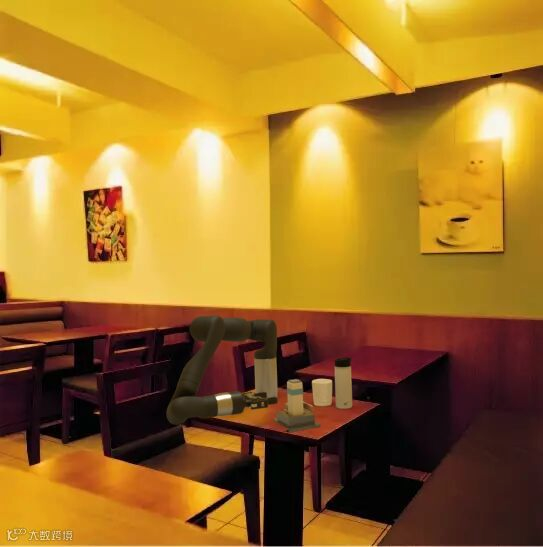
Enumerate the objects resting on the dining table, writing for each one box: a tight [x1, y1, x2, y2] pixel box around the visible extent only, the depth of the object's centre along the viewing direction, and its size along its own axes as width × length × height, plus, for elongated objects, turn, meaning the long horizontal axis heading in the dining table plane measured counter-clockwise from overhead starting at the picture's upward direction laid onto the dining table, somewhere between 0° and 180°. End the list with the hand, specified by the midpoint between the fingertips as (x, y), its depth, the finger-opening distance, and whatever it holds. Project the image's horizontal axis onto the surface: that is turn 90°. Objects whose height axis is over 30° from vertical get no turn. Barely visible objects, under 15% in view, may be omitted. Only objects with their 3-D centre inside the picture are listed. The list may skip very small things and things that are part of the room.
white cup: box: [311, 378, 333, 407], centre depth 218 cm, size 8×8×10 cm
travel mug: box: [334, 356, 353, 410], centre depth 212 cm, size 6×7×20 cm
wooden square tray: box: [283, 400, 315, 413], centre depth 210 cm, size 9×9×3 cm
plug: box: [286, 378, 304, 416], centre depth 195 cm, size 4×4×15 cm
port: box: [271, 409, 321, 433], centre depth 195 cm, size 14×12×4 cm
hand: (271, 397), depth 191 cm, fingers open, 8 cm apart
